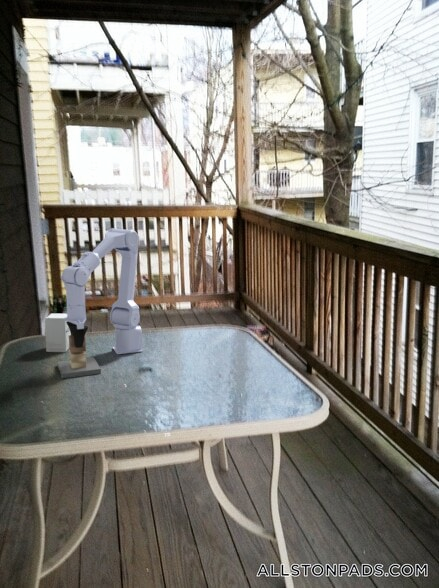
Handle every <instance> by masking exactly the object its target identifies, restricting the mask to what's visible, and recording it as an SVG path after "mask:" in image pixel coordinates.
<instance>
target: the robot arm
mask: <svg viewBox="0 0 439 588" xmlns="http://www.w3.org/2000/svg"><path fill="white" fill-rule="evenodd" d="M139 243H140V236H139V234H138V233H137V232H136V230H134V229H123V228H115V227H114V228H113V227H112V228H110V229H108V231H107V232H106V233H105V235H104V238H103V239H102V240H101V242H99V244H98V245H97V246H96V247H95V248H94V249H93V250H92V251H85V252H84V253H82V256H81V257H80V258H78V260H76V261H74V262H73V264H72V265H69V266H67V267H65V268H64V269H63V271H62V273H61V276H60V279H61V281H62V283H63V285H64V289H65V294H66V295H65V298H66V312H67V313H66V314H67V317H66V318H63V319H64V321H68V322H66V323H67V325H68V327H69V329H70V333H71V335H73V338H74V343H75V347H76V348H80V347H83V342H84V337H85V336H86V334H87V331H88V329H89V326H88V325H85V322H86V321H87V313H86V289H85V288H86V287H85V286H86V284H87V283H88V281H89V277H90V276H91V275H92V274H91V273H92V272H94V271H95V270H96V269H97V268H98V267H99V266H100V264H101V260H102V258H104V257H105V256H106V255H108V254H109V253H110V252H112V250H115V251H116V252H118V253H119V254H120V255H121V262H120V263H121V265H120V276H119V287H118V299H117V300H116V301H115V302H114V303H112V305H111V310H110V313H109V321H110V322H111V324H112V327H114V340H115V341H114V342H115V343H114V344H115V346H112V349H113V352H115V353H116V355H122V354H123V355H124V354H133V353H140V352H143V331H142V328H141V326H140V325H139V323H140V320H141V316H140V307H139V305H138V304H137V303H136V302H135V301H134V298H135V287H136V286H135V285H136V274H137V267H138V265H137V264H138V254H139V246H140V245H139ZM85 338H86V337H85Z"/></svg>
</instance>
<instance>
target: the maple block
mask: <svg viewBox="0 0 439 588" xmlns="http://www.w3.org/2000/svg"><path fill="white" fill-rule="evenodd" d="M68 353H69V354H68V357H69V360H70V365H71V367H72V368H79V367H86V358H87V355H86V354H87V353H86V351H84V352H75V353H71V351H70V350H69V351H68Z"/></svg>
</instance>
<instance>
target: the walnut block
mask: <svg viewBox="0 0 439 588" xmlns="http://www.w3.org/2000/svg"><path fill="white" fill-rule="evenodd" d="M86 346H87V344H86V337H84V342H83V347H80V348H76V347H75V343H74V338H73V335H69V349H68V350H69V351H71V353H75V352H84V351H85V352H86V351H87V347H86Z"/></svg>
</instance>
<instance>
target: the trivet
mask: <svg viewBox="0 0 439 588" xmlns="http://www.w3.org/2000/svg"><path fill="white" fill-rule="evenodd" d="M56 366H57V369H58V371H59V373H60V376H61V378H62V379H67V378H76V377H83V376H90V375H98V374H101V373H102V369H101V367H100V365H99V363H98V362H97V360H96V359H95V358H94V357H86V367H79V368H72V367H71V365H70V359H69V360H61V361H56Z"/></svg>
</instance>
